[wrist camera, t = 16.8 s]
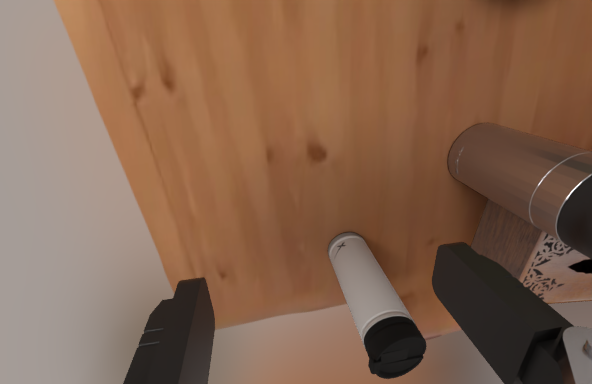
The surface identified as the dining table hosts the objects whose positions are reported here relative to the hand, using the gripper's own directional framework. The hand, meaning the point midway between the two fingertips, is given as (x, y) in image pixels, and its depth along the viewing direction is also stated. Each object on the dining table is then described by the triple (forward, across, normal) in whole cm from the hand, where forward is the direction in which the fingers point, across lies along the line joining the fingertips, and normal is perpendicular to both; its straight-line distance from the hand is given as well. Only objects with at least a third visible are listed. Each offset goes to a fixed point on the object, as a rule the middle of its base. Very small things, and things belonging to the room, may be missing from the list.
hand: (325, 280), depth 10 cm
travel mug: (+30, -10, +22) cm, 39 cm away
